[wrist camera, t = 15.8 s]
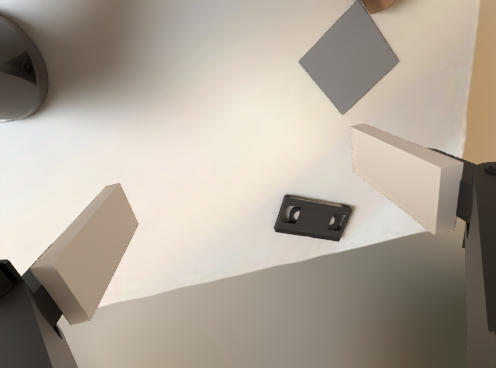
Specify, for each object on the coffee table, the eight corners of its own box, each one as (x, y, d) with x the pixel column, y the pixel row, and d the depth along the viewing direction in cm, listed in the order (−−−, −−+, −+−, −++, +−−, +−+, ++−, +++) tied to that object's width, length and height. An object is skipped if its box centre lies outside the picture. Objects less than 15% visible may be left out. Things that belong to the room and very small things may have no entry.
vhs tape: (348, 204, 56) (353, 209, 54) (335, 236, 59) (338, 241, 57) (284, 193, 53) (286, 197, 52) (273, 226, 56) (275, 231, 55)
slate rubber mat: (298, 61, 44) (298, 61, 43) (356, 0, 41) (358, -1, 41) (341, 114, 48) (342, 114, 47) (397, 61, 45) (398, 61, 45)
